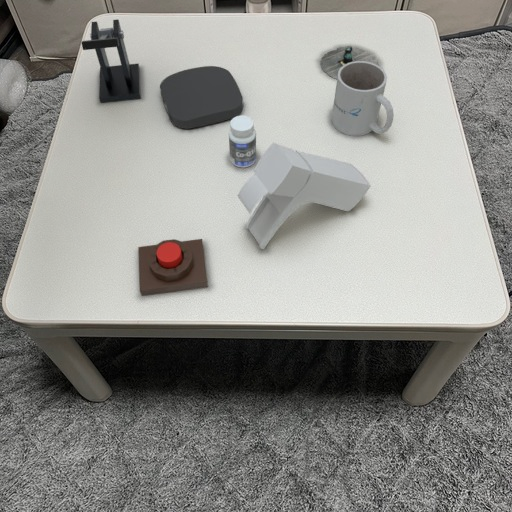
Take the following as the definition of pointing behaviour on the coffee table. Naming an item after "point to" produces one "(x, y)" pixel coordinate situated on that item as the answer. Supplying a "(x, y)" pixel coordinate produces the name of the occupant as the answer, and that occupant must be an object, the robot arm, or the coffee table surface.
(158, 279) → the button box
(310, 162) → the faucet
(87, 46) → the lever
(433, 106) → the coffee table surface
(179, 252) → the button
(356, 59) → the sculpture
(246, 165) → the pill bottle
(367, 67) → the mug
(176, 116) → the media streaming box
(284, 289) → the coffee table surface
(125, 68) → the bracket
